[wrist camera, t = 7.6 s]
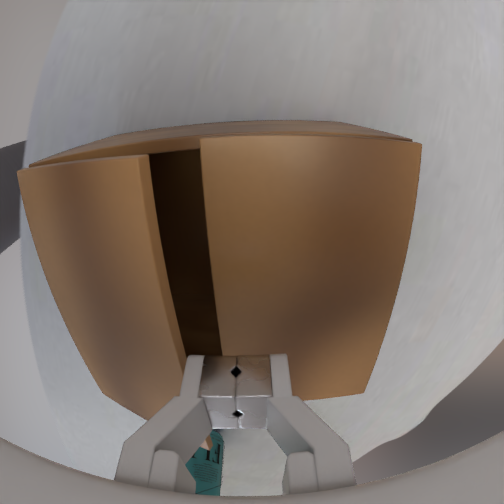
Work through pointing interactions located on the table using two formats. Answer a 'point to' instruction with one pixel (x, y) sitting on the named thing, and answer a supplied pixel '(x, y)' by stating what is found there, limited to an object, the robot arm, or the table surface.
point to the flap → (109, 274)
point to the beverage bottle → (208, 467)
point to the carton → (280, 238)
